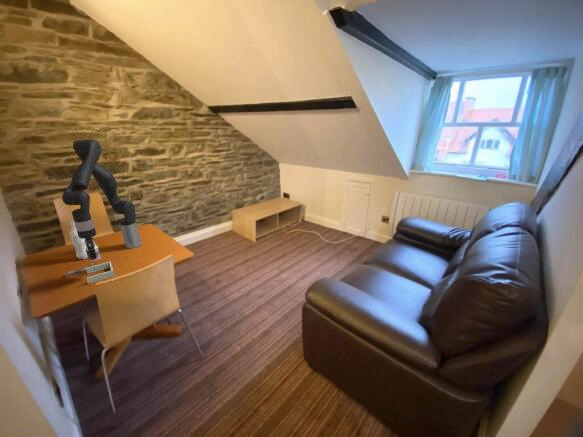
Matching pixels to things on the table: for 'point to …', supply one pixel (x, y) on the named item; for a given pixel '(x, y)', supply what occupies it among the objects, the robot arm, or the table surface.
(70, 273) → the bar
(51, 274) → the table surface
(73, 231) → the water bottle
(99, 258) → the pill bottle
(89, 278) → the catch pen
